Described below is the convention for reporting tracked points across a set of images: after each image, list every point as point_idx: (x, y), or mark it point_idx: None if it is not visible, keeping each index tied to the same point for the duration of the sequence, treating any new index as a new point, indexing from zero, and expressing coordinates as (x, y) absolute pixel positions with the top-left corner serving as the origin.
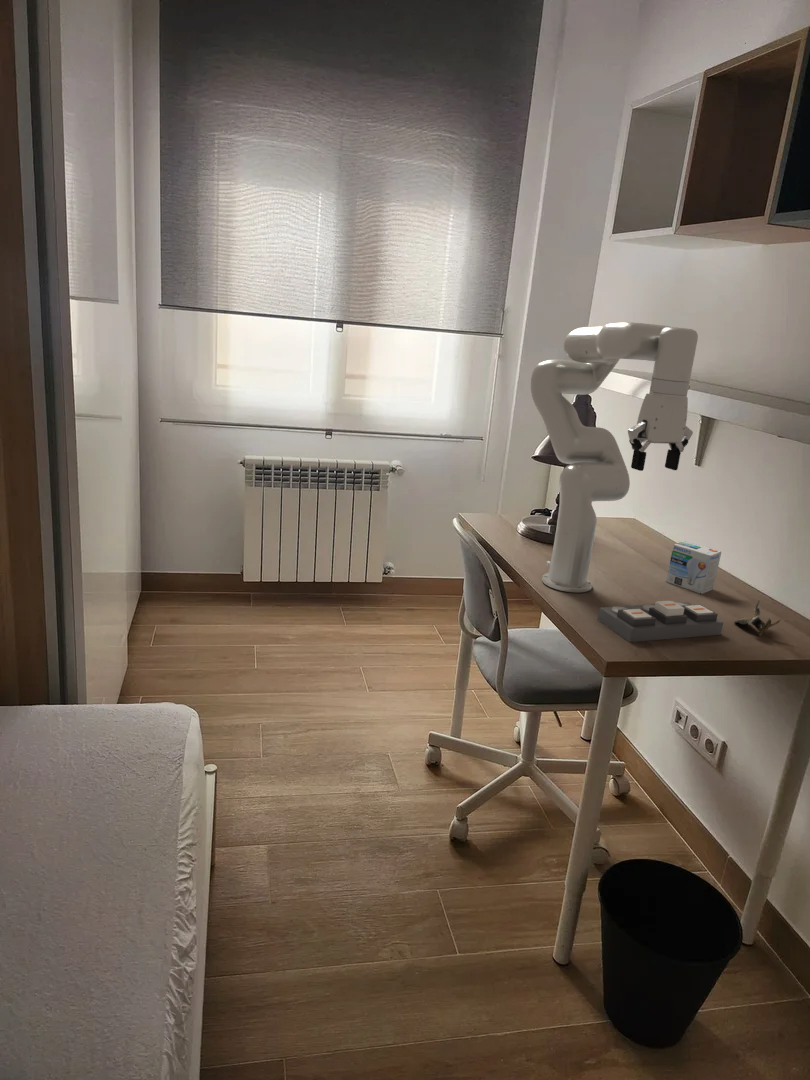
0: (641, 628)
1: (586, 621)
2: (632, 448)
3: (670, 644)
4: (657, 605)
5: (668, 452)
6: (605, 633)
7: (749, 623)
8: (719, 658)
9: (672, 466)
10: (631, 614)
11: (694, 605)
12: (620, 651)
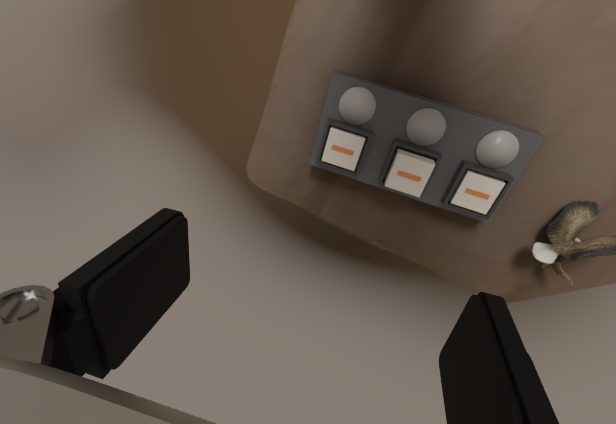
0: (325, 169)
1: (312, 66)
2: (15, 296)
3: (366, 191)
4: (395, 158)
5: (503, 411)
6: (304, 118)
7: (534, 246)
8: (388, 247)
9: (450, 357)
10: (327, 149)
11: (490, 179)
12: (276, 169)
